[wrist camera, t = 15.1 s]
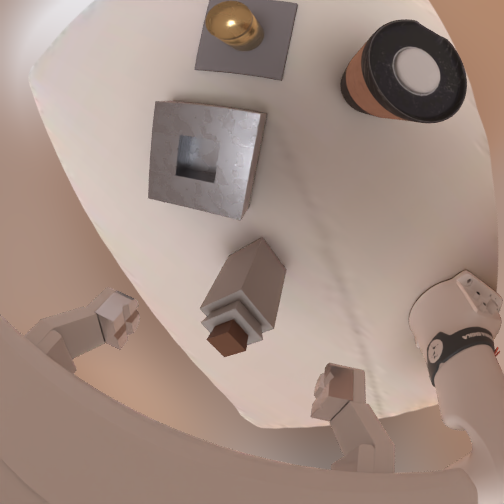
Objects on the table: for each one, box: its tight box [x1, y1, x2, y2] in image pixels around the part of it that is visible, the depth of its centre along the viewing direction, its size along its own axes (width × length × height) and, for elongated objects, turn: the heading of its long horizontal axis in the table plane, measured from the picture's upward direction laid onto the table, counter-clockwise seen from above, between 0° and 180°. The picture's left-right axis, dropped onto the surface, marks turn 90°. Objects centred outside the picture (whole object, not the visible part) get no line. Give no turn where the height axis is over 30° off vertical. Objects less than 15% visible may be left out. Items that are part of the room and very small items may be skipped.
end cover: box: [205, 1, 264, 51], centre depth 24 cm, size 5×5×8 cm
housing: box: [148, 101, 267, 220], centre depth 36 cm, size 14×14×5 cm
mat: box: [195, 0, 298, 80], centre depth 28 cm, size 12×12×1 cm
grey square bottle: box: [200, 237, 286, 357], centre depth 38 cm, size 7×7×18 cm
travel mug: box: [341, 20, 467, 123], centre depth 20 cm, size 8×8×20 cm
